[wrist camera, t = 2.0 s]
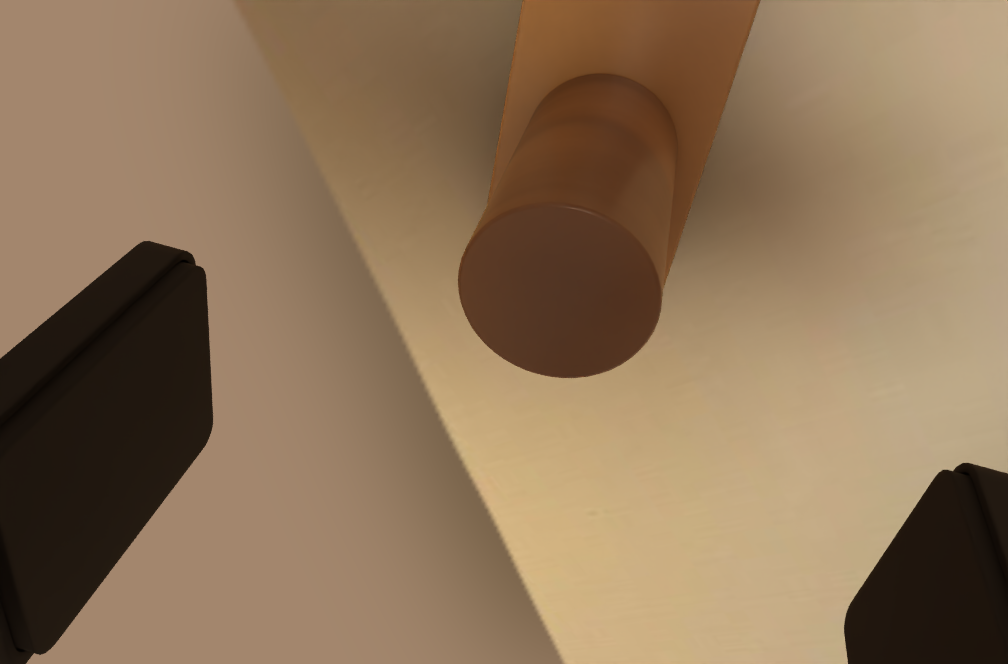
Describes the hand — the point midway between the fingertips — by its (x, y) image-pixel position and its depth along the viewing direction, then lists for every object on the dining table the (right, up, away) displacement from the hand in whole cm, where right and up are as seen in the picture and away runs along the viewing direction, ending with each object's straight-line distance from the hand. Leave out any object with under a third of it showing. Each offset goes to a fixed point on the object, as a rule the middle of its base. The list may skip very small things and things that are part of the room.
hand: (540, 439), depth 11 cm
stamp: (+2, +7, +10) cm, 12 cm away
